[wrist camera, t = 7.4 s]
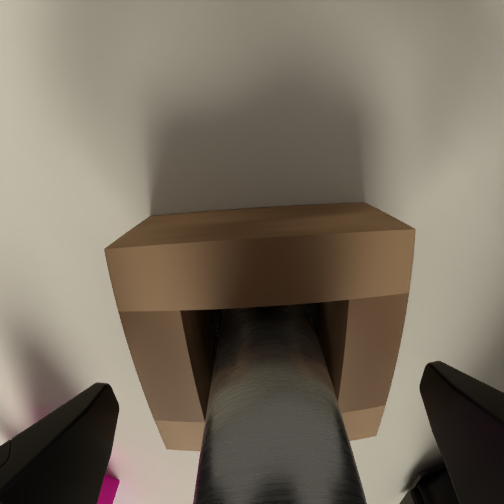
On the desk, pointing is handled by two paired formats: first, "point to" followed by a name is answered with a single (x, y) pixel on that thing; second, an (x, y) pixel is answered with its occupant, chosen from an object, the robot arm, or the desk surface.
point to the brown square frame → (262, 300)
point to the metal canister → (273, 416)
